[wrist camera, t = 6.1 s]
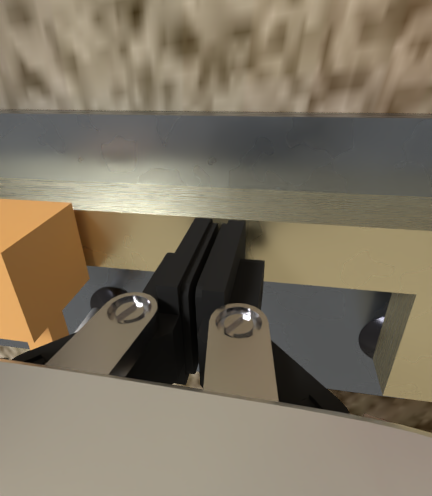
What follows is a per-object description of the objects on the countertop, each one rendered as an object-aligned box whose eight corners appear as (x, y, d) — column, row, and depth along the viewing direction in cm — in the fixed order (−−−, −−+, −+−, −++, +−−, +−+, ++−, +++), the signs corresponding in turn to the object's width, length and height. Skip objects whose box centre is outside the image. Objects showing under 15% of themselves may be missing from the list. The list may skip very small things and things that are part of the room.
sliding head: (108, 176, 15) (0, 252, 9) (134, 325, 19) (70, 439, 13) (22, 173, 15) (-126, 242, 10) (65, 317, 19) (-23, 423, 14)
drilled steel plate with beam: (512, 114, 12) (599, 140, 9) (409, 384, 19) (435, 457, 16) (-108, 108, 16) (-212, 124, 13) (-8, 331, 23) (-59, 380, 20)
